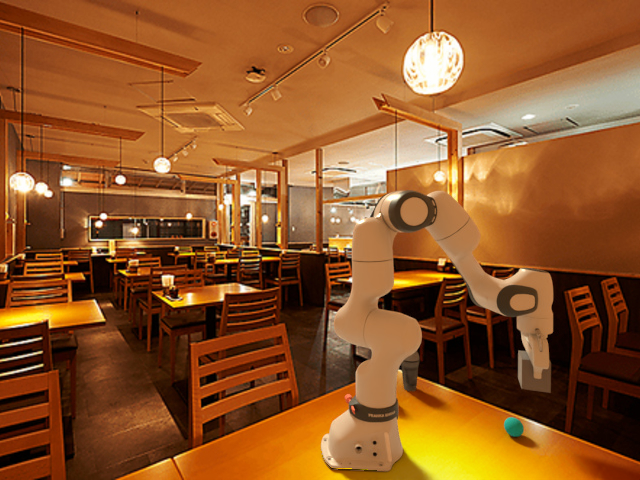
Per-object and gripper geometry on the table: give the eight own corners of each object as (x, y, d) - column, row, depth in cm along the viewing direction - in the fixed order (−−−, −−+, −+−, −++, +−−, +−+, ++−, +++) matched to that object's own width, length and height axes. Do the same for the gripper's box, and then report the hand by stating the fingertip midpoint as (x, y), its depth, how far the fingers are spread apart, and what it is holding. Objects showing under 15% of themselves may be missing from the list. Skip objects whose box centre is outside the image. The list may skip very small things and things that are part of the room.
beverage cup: (420, 394, 126) (420, 339, 125) (400, 392, 128) (399, 339, 127) (419, 385, 133) (418, 333, 133) (399, 383, 135) (399, 332, 134)
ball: (511, 441, 98) (511, 424, 98) (500, 430, 103) (500, 414, 103) (527, 439, 99) (527, 422, 99) (515, 429, 104) (516, 413, 104)
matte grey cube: (550, 392, 96) (551, 362, 95) (521, 388, 99) (521, 359, 98) (545, 381, 102) (545, 353, 102) (518, 378, 105) (518, 350, 104)
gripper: (556, 337, 89) (555, 389, 89) (540, 315, 107) (540, 359, 108) (527, 334, 91) (527, 385, 92) (517, 313, 110) (517, 356, 111)
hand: (534, 371), depth 100 cm, fingers closed on matte grey cube, 7 cm apart
